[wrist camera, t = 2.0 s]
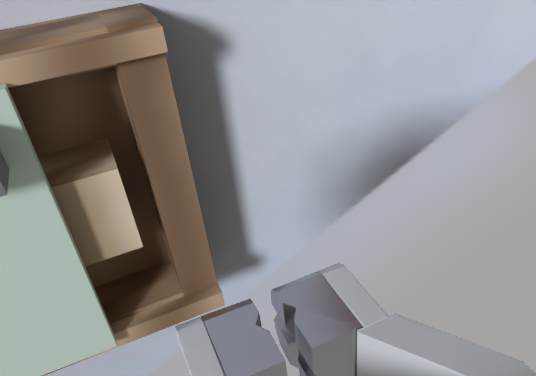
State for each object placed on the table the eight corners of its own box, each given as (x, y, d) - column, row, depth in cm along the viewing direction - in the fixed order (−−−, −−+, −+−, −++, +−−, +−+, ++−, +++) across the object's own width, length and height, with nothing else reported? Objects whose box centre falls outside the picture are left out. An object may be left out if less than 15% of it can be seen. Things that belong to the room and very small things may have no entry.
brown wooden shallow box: (141, 3, 22) (161, 21, 18) (203, 262, 30) (225, 307, 27) (-364, 100, 17) (-465, 149, 13) (-114, 376, 25) (-137, 449, 22)
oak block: (107, 137, 23) (117, 168, 21) (131, 210, 26) (143, 247, 23) (11, 163, 22) (8, 200, 19) (46, 237, 25) (47, 279, 22)
